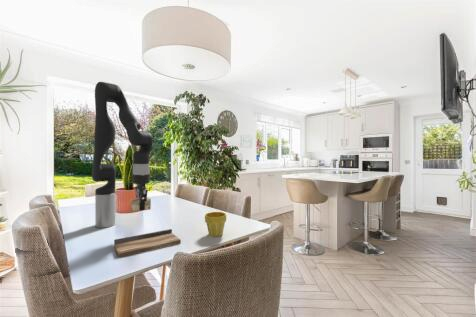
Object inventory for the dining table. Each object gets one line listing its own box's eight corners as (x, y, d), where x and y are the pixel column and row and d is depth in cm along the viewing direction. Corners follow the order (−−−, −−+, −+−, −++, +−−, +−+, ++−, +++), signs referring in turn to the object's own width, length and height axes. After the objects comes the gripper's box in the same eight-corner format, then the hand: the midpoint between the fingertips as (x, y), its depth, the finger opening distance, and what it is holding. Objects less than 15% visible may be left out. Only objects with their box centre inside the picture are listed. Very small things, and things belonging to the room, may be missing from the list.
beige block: (130, 209, 106) (130, 199, 106) (148, 207, 111) (148, 197, 111) (132, 212, 102) (132, 201, 102) (151, 209, 107) (151, 199, 107)
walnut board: (114, 246, 93) (114, 239, 93) (171, 235, 107) (171, 228, 107) (118, 257, 83) (118, 249, 83) (180, 243, 97) (180, 236, 97)
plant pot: (200, 236, 106) (200, 215, 106) (211, 229, 116) (211, 210, 115) (219, 239, 102) (219, 218, 102) (229, 232, 111) (229, 212, 111)
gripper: (129, 172, 110) (129, 207, 110) (136, 175, 99) (135, 213, 99) (145, 171, 114) (145, 205, 115) (153, 174, 103) (153, 211, 103)
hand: (140, 208), depth 107 cm, fingers closed on beige block, 4 cm apart
